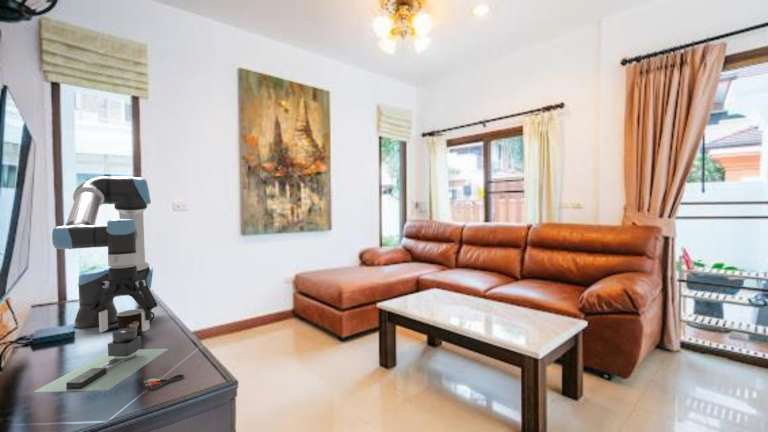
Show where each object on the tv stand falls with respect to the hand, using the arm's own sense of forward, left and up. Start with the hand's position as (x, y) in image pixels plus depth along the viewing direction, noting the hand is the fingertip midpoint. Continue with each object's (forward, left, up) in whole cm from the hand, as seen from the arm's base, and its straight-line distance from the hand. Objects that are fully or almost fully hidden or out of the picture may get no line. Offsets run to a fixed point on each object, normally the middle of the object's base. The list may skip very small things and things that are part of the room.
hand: (124, 330), depth 116 cm
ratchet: (+9, 0, -9) cm, 12 cm away
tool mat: (+7, 0, -10) cm, 12 cm away
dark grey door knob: (0, 0, -7) cm, 7 cm away
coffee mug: (-20, -10, -10) cm, 24 cm away
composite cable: (+18, +23, -10) cm, 31 cm away
